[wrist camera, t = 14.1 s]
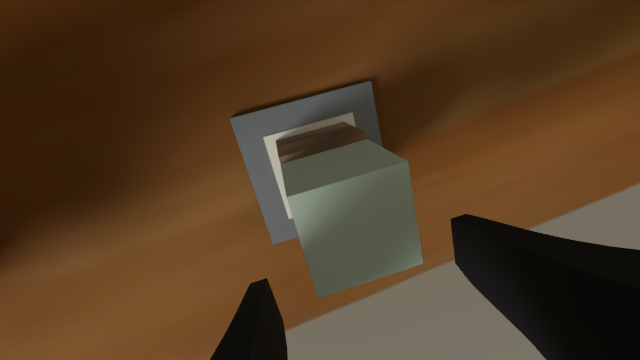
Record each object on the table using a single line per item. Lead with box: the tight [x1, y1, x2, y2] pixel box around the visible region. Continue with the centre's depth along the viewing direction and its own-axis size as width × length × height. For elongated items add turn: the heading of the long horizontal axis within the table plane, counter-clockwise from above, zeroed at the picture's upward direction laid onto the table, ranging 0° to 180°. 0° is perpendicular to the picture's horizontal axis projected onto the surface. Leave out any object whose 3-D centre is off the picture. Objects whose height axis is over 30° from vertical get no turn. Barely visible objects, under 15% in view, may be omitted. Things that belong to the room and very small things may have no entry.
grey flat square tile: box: [230, 81, 383, 245], centre depth 18 cm, size 8×8×1 cm
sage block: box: [280, 139, 423, 298], centre depth 12 cm, size 4×4×4 cm
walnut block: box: [276, 122, 368, 164], centre depth 16 cm, size 4×4×4 cm
